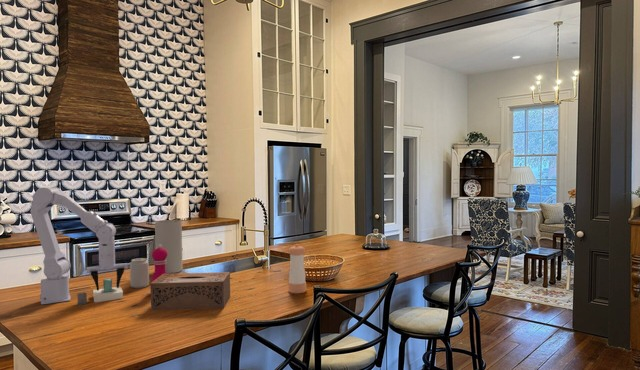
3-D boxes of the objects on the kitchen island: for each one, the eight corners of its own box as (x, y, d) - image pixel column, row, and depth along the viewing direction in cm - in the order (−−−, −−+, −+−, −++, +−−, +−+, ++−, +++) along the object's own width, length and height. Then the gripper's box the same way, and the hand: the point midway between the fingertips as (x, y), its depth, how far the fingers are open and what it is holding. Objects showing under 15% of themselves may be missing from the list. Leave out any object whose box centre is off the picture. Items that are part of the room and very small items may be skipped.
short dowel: (77, 305, 158) (77, 295, 158) (77, 303, 161) (77, 293, 161) (86, 304, 160) (86, 294, 159) (86, 302, 162) (86, 292, 162)
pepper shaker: (304, 293, 170) (303, 246, 170) (286, 292, 172) (285, 245, 171) (308, 288, 178) (307, 243, 177) (291, 288, 179) (290, 242, 179)
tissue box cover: (151, 311, 152) (150, 283, 152) (163, 299, 166) (163, 273, 166) (224, 309, 153) (223, 281, 153) (230, 297, 168) (229, 272, 167)
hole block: (94, 302, 162) (94, 295, 162) (93, 296, 171) (93, 289, 171) (123, 298, 167) (122, 292, 167) (120, 292, 176) (120, 286, 176)
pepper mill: (163, 296, 170) (162, 246, 169) (147, 295, 171) (146, 245, 171) (173, 291, 177) (172, 243, 176) (157, 290, 178) (156, 242, 178)
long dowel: (104, 298, 167) (103, 281, 167) (103, 296, 169) (103, 279, 169) (112, 297, 168) (112, 280, 168) (112, 295, 171) (111, 278, 171)
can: (126, 287, 183) (125, 259, 183) (141, 283, 190) (140, 256, 190) (138, 289, 180) (137, 261, 180) (152, 285, 186) (152, 258, 186)
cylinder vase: (155, 270, 216) (154, 221, 215) (180, 267, 221) (179, 219, 221) (157, 275, 205) (155, 223, 204) (184, 272, 210) (183, 222, 209)
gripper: (86, 258, 161) (87, 293, 162) (128, 254, 169) (128, 288, 169) (86, 255, 168) (86, 289, 168) (126, 251, 175) (127, 284, 175)
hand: (107, 288), depth 169 cm, fingers open, 6 cm apart
